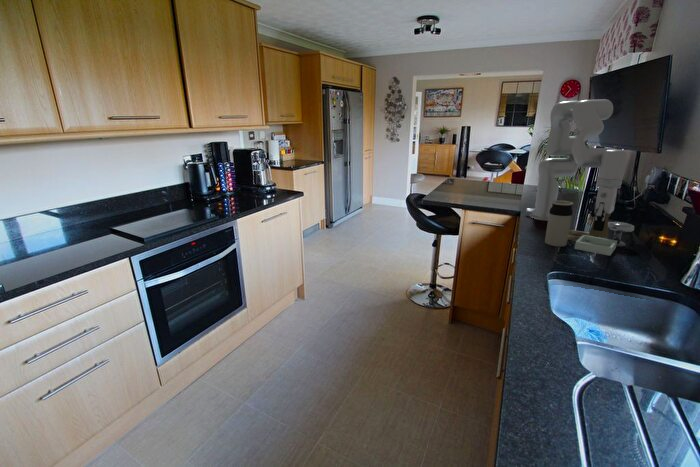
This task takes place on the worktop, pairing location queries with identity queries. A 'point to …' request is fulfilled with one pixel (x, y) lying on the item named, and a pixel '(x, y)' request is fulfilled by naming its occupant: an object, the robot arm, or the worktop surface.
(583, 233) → the socket
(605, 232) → the brown rounded lump
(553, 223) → the travel mug
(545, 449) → the worktop surface
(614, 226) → the grey pedestal stand
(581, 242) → the tray
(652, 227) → the worktop surface
